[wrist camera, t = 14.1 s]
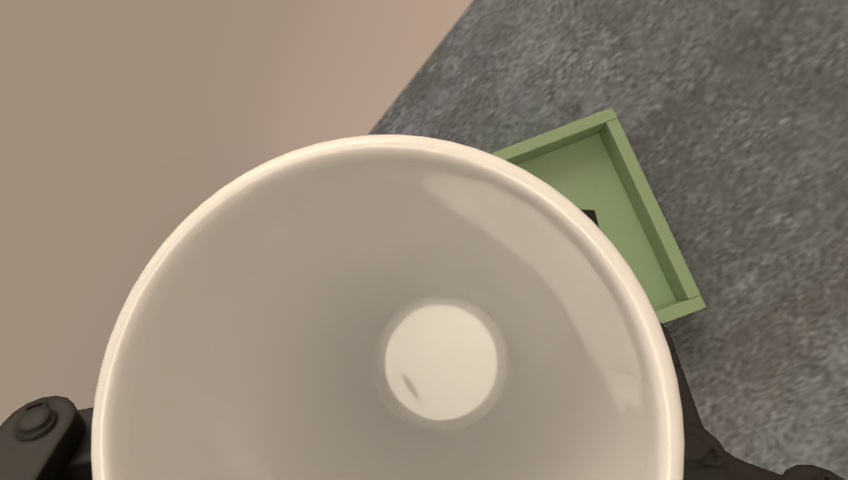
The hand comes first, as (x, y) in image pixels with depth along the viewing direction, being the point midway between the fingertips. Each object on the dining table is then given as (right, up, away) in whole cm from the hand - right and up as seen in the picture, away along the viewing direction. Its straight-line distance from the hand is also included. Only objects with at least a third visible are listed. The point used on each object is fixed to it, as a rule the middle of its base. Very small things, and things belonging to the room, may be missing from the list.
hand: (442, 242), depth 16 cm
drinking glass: (0, -4, +5) cm, 7 cm away
